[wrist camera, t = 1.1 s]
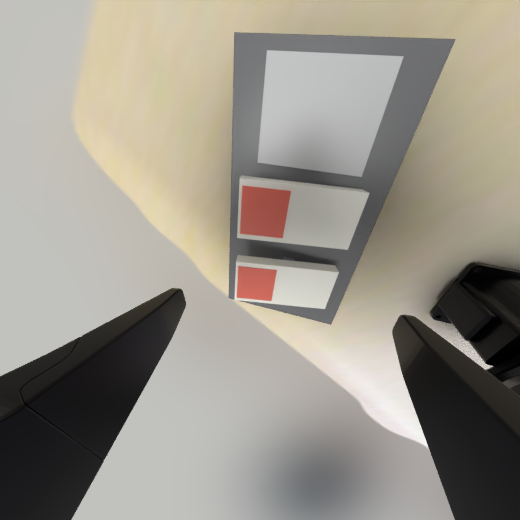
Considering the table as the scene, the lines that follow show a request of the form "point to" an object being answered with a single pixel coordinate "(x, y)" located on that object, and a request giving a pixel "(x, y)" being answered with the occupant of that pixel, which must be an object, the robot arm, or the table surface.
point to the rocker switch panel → (326, 129)
